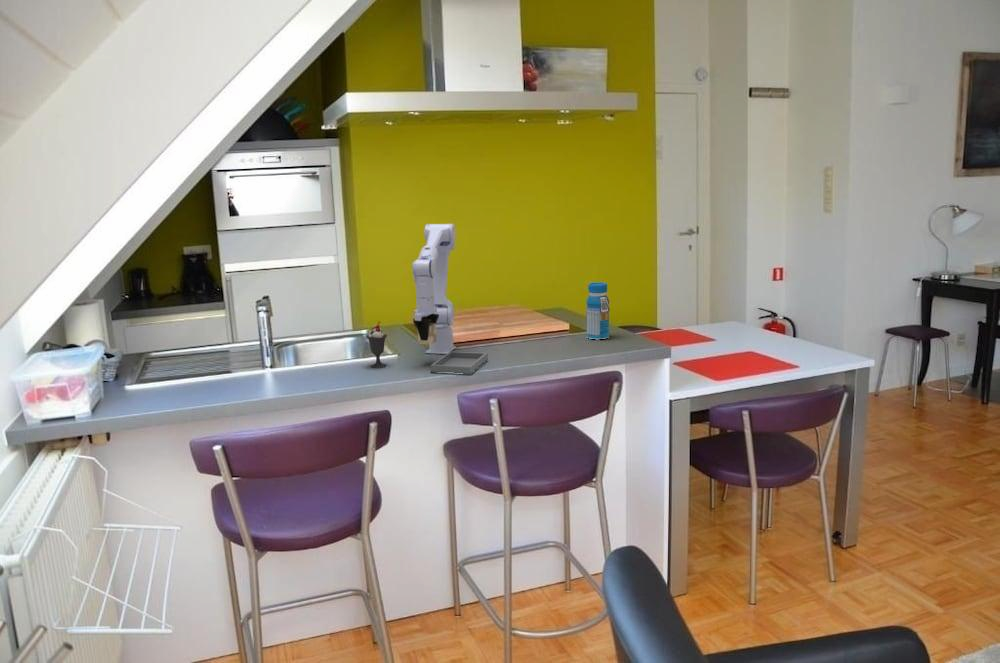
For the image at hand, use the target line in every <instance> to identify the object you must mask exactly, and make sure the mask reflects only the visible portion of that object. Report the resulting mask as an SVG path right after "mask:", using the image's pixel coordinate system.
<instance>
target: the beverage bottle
mask: <svg viewBox="0 0 1000 663" xmlns="http://www.w3.org/2000/svg"><path fill="white" fill-rule="evenodd" d="M587 287H588V289H587V291H588V293H589V295H588V296H587V298H586V301H585V302H586V307H585V313H586V320H585V321H586V338H587V339H588V338H589V339H588V340H590V339H606V338H608V339H609V338H610V311H611V310H610V307H609V304H610V300H609V297H608V296H607V293H608V283H606V282H601V281H600V282H597V281H596V282H594V281H593V282H589V283H588V286H587ZM606 340H607V339H606Z"/></svg>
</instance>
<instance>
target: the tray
mask: <svg viewBox="0 0 1000 663" xmlns="http://www.w3.org/2000/svg"><path fill="white" fill-rule="evenodd" d="M488 354H489V353H488V352H474V351H473V352H467V351H450V352H449V353H447V354H443V356H442V357H440V358H439V359H438V360H436V361H434V362H433V363H432V364H431V365H430V373H431V372H454V373H463V374H466V375H465V376H472V375H473V374H474V373H473V371H474V370H476V369H477V368H478V367H479V366H481V365H482V364H483V363H484V362H486V361H487V360H488V361H489V355H488ZM488 361H487V362H488ZM487 362H486V363H487ZM484 364H485V363H484ZM484 364H483V365H484ZM483 365H482V366H483ZM482 366H481V367H482ZM477 370H478V369H477ZM477 370H476V371H477ZM472 373H473V374H472Z"/></svg>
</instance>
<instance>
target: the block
mask: <svg viewBox="0 0 1000 663" xmlns="http://www.w3.org/2000/svg"><path fill="white" fill-rule="evenodd" d="M416 329H417V328H416ZM435 342H436V324H435V323H430V325H429V332H428V340H421V339H420V336H419V332H418V329H417V344H418V345H428V346H429V345H431V344H433V343H435Z"/></svg>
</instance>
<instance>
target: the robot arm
mask: <svg viewBox="0 0 1000 663" xmlns="http://www.w3.org/2000/svg"><path fill="white" fill-rule="evenodd" d="M423 233H424V239H425V241H426V244H425V246H424V245H423V247H422V248H421V250H420V253H419V255H418V258H417V259H415V260H414V261H413V262H412V268H411V269H412V270H411V271H412V275H413V282H414V284H415V295H416V296H415V298H416V309H414V310H413V313H415V314H414V315H413V319H412V321H413V324H414V325H415V327H416V329H418V332H419V336H420V339H421V340H428V332H429V325H430V323H435V324H436V342H435V343H433V344H431V345H428V346H429V349H427V350H426V351H425V354H435V355H436V354H438V355H446V354H447V353H449V352H450V351H451V352H453V350H455V349H456V348H457V346H454V334H453V333H454V332H453V327H452V324H454V321H455V311H454V304H453V302H452V301H451V300H449V299H448V298H447V290H448V289H447V288H448V286H447V285H448V273H449V272H448V270H449V258H450V252H451V251H453V250H454V249H455V245H456V227H455V225H454V223H426V225H425V227H424V231H423ZM418 332H417V333H418Z"/></svg>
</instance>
